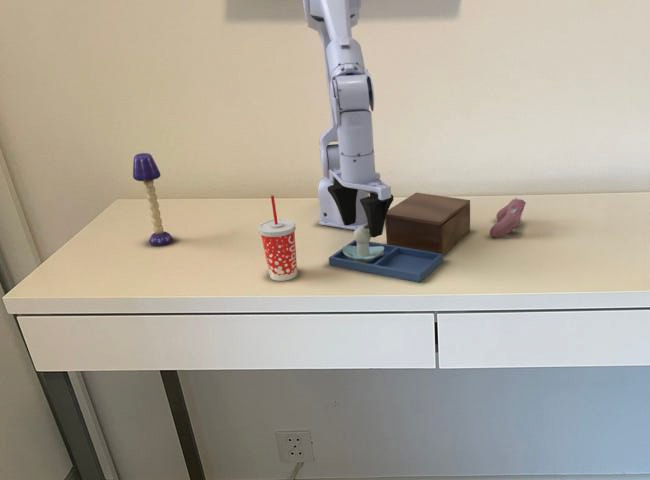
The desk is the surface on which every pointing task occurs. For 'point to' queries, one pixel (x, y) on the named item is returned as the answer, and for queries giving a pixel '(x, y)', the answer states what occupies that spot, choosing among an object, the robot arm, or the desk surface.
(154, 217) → the toy lamp
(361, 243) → the pacifier
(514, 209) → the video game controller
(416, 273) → the tray
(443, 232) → the chest
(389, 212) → the chest lid
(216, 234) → the desk surface
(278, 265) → the beverage cup
